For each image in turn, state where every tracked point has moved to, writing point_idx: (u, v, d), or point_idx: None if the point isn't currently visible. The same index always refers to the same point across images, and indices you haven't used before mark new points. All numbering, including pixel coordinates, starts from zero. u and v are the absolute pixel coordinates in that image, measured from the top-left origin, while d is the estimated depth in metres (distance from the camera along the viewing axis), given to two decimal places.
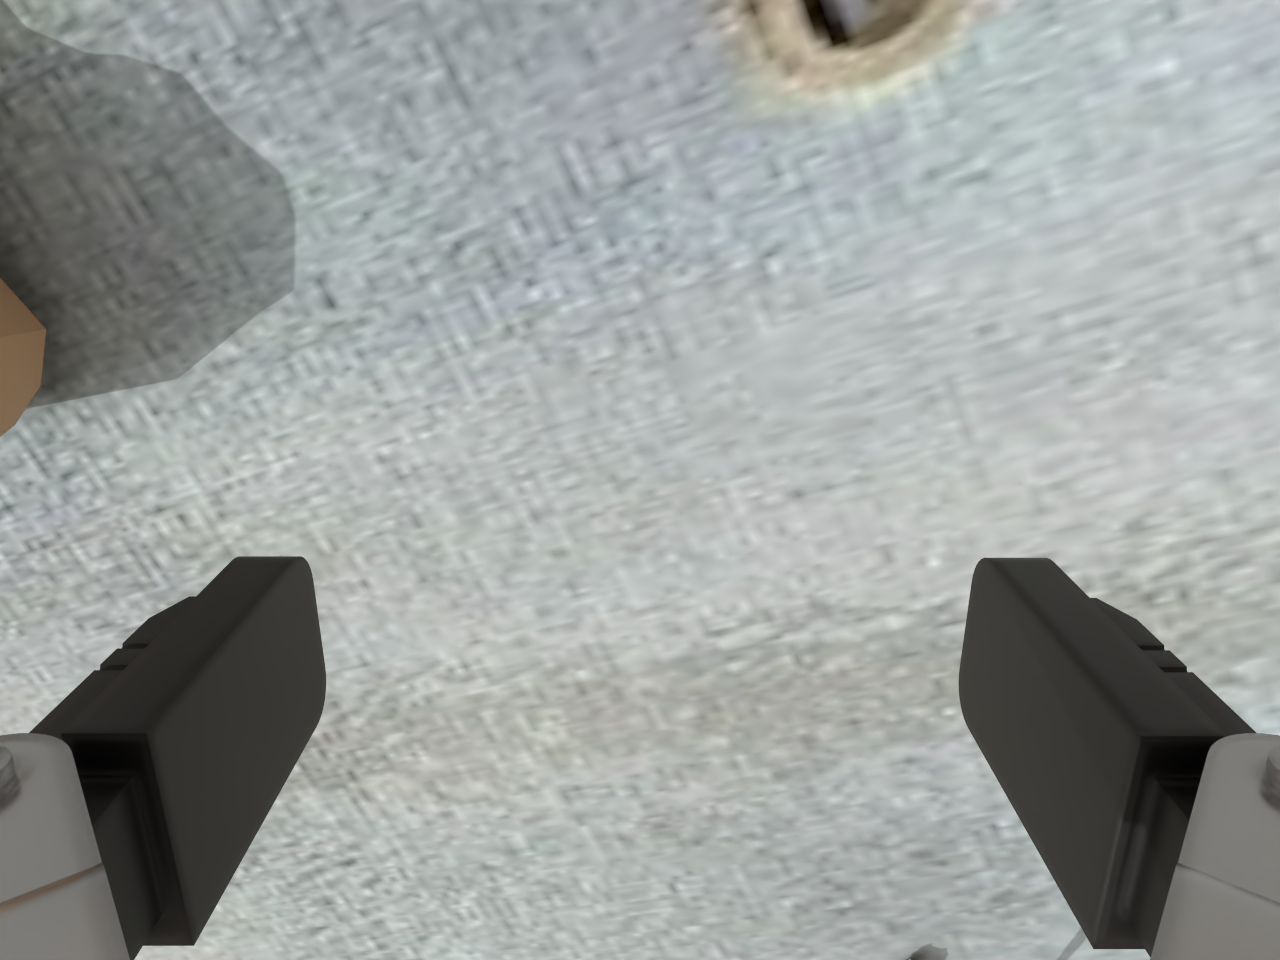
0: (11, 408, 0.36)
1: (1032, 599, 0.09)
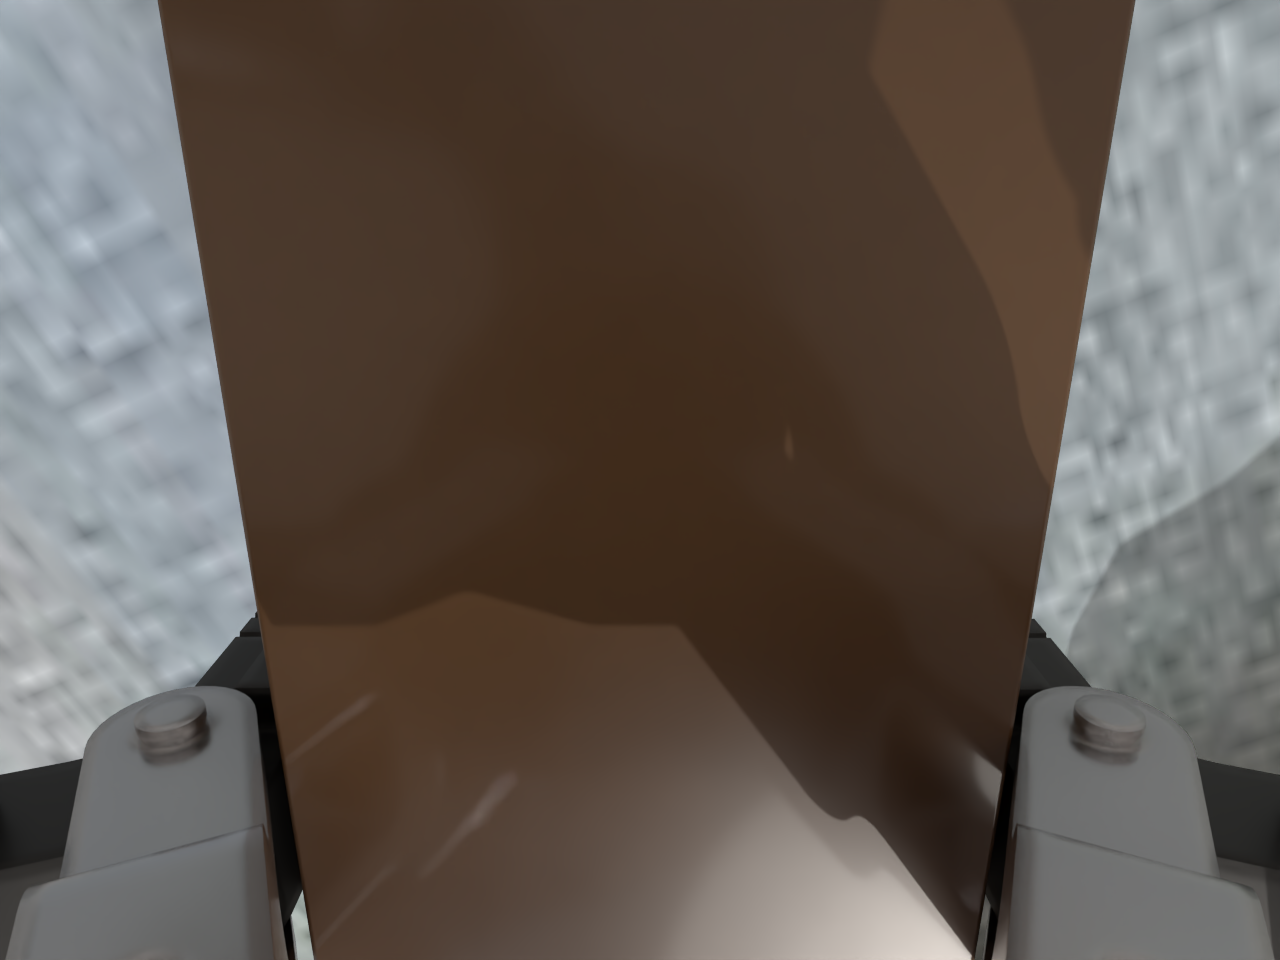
0: None
1: None
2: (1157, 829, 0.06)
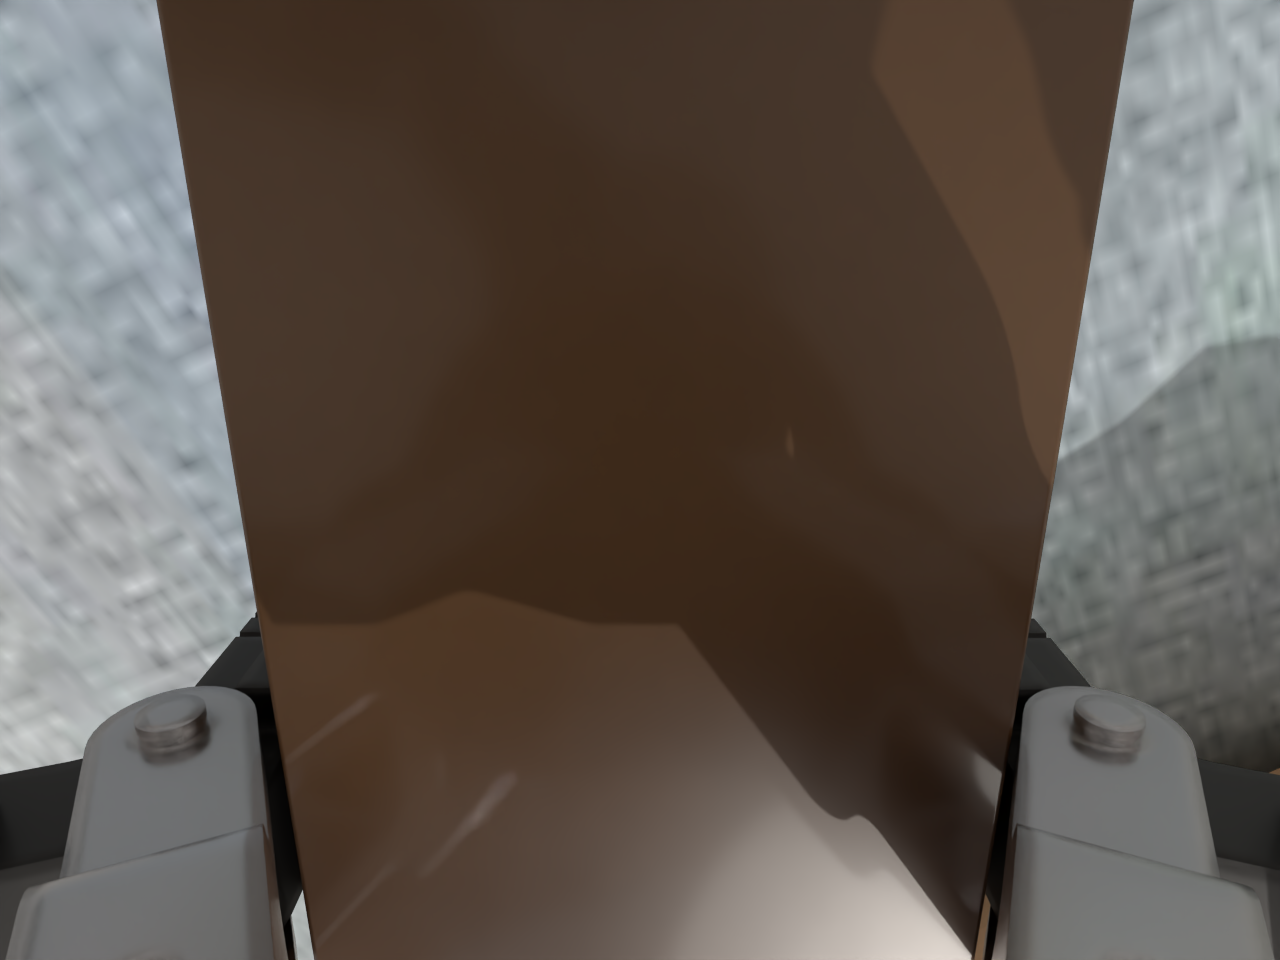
0: None
1: None
2: (1157, 829, 0.06)
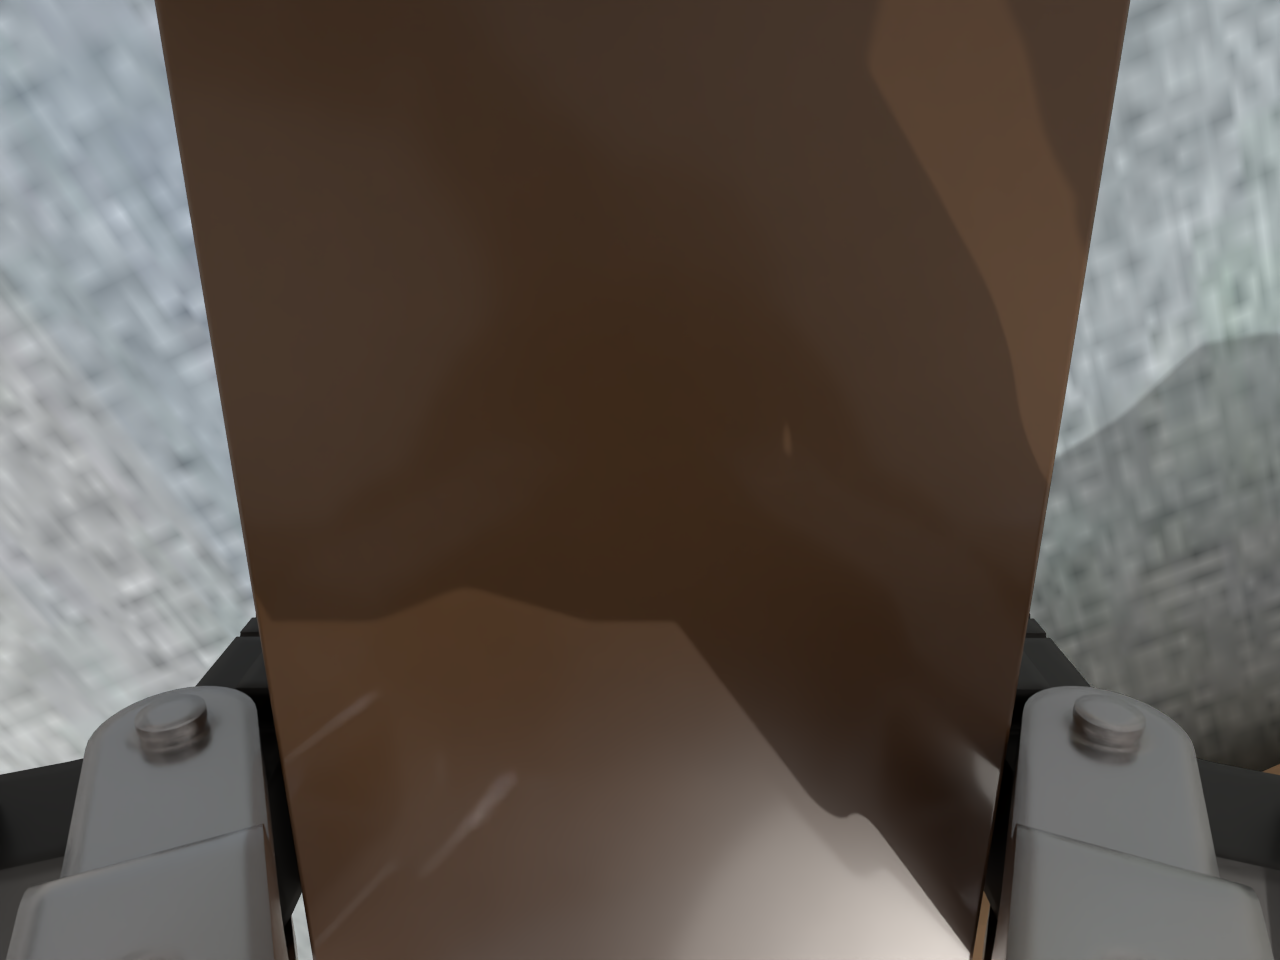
0: None
1: None
2: (1157, 829, 0.06)
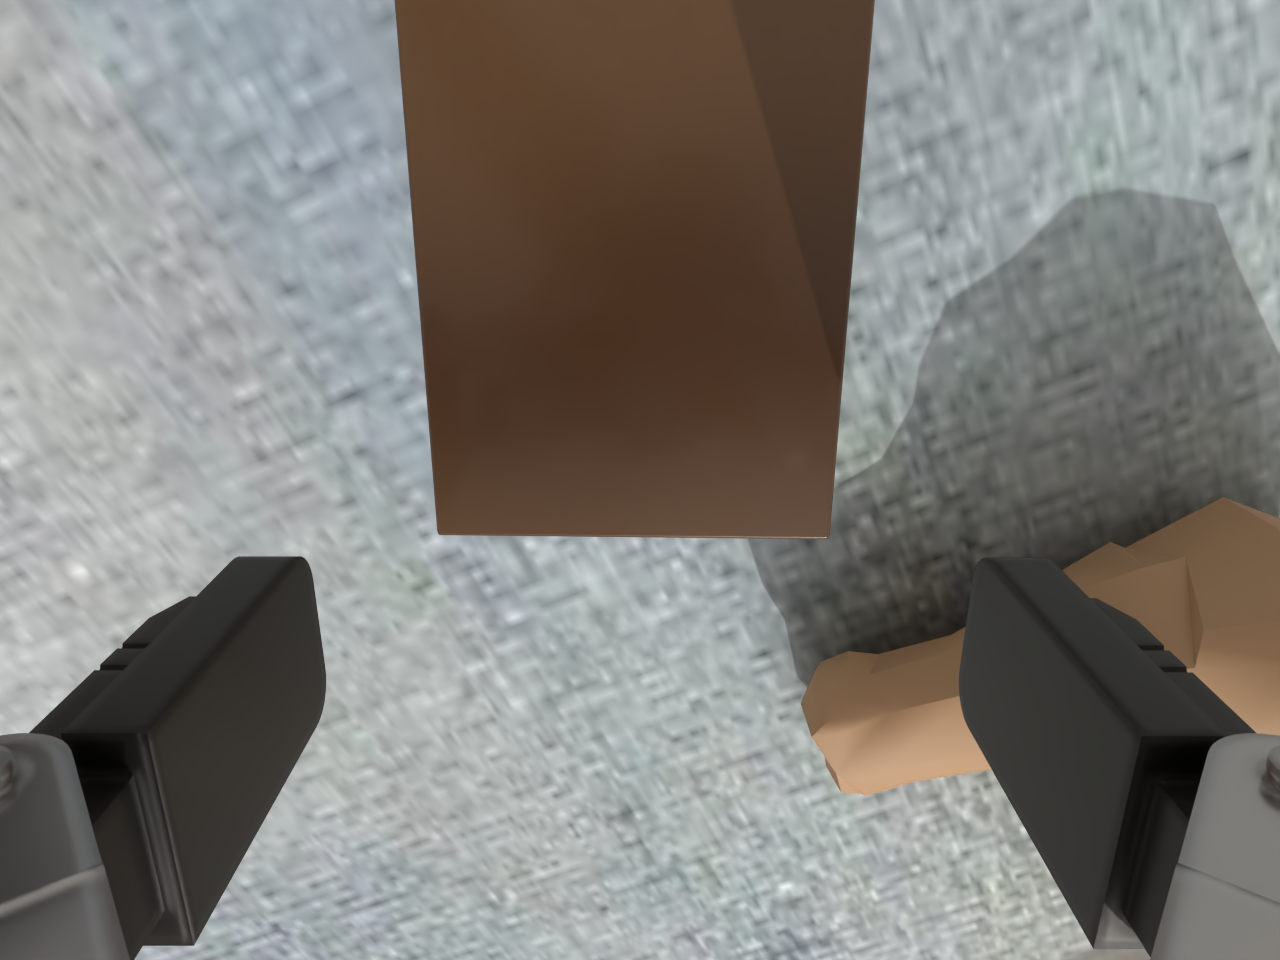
0: None
1: (1032, 599, 0.09)
2: None
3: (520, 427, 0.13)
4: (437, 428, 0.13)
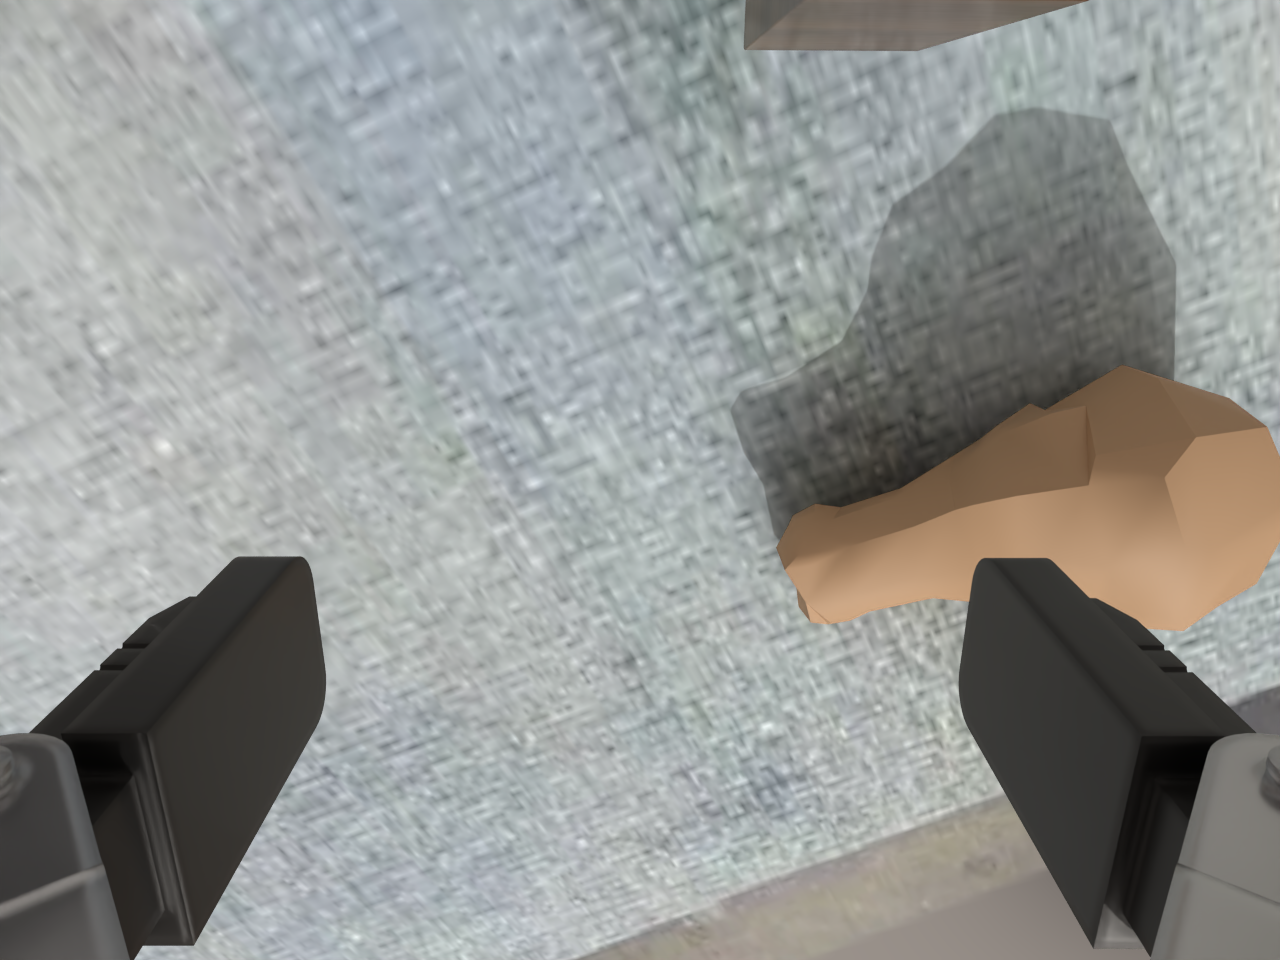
0: None
1: (1032, 599, 0.09)
2: None
3: None
4: None
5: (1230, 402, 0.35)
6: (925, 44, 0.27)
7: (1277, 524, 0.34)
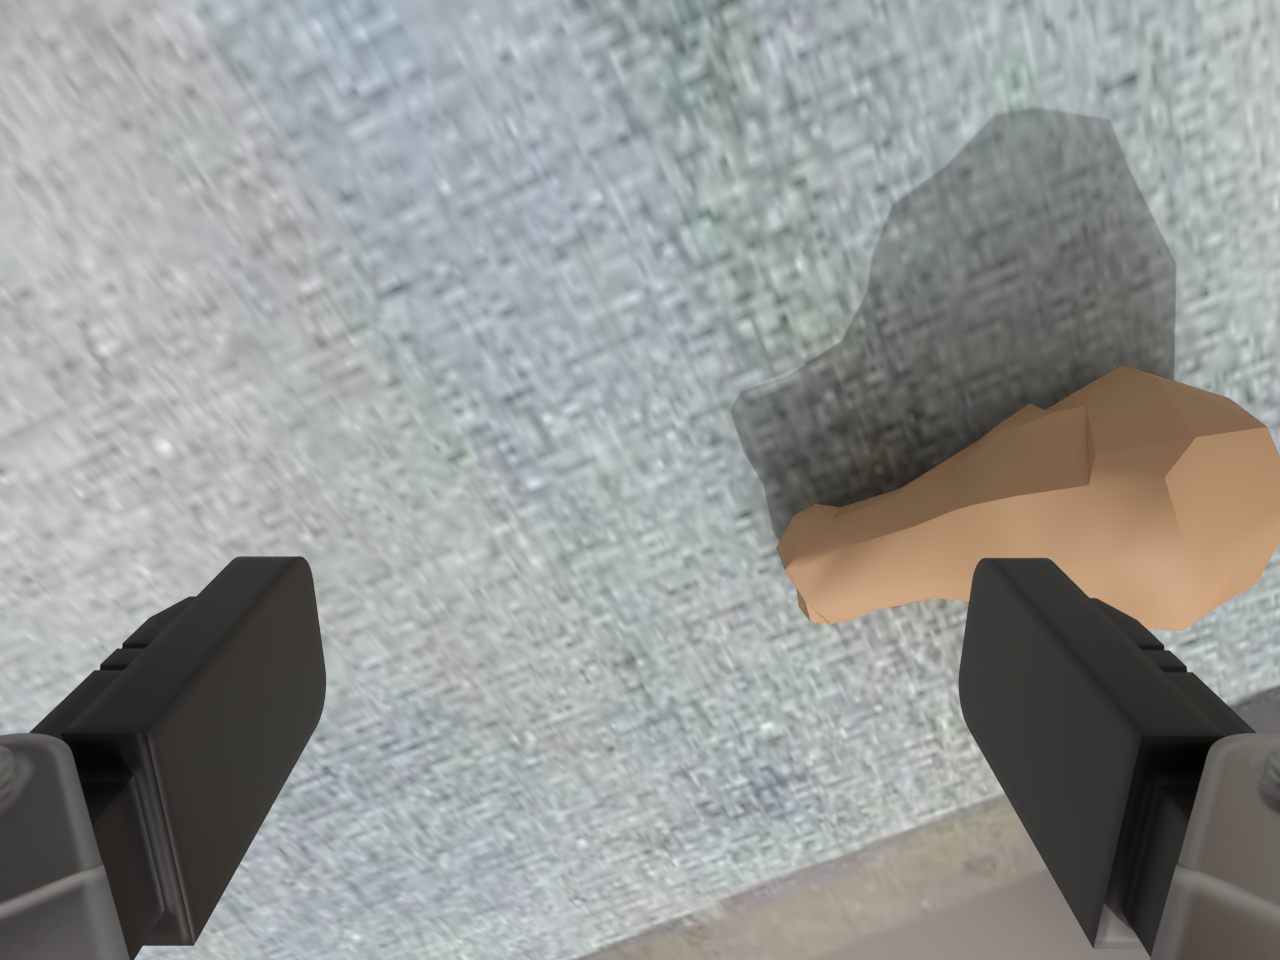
0: None
1: (1032, 598, 0.09)
2: None
3: None
4: None
5: (1230, 402, 0.35)
6: None
7: (1277, 524, 0.34)
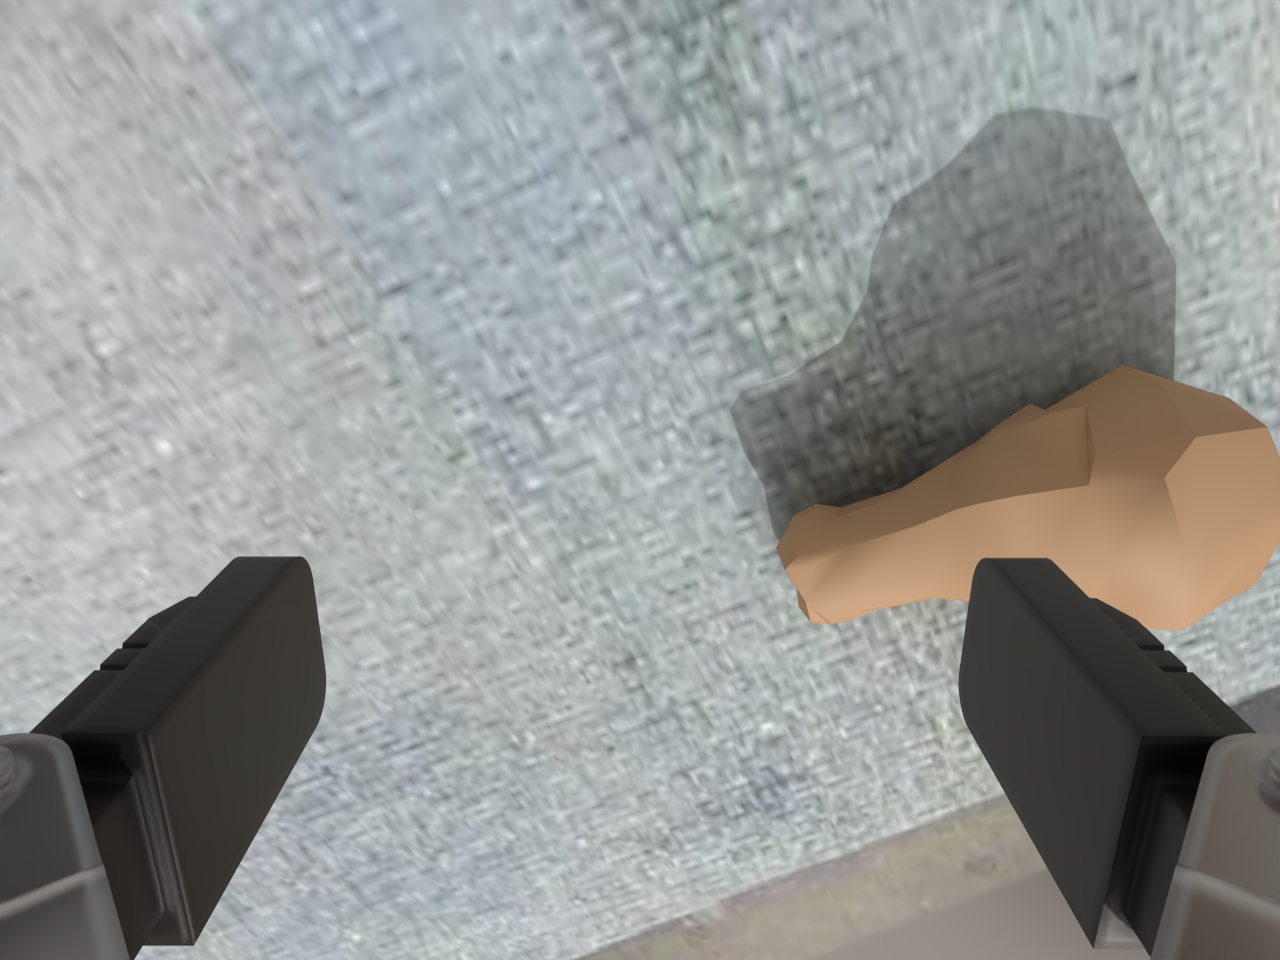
0: None
1: (1032, 598, 0.09)
2: None
3: None
4: None
5: (1230, 402, 0.35)
6: None
7: (1277, 524, 0.34)
